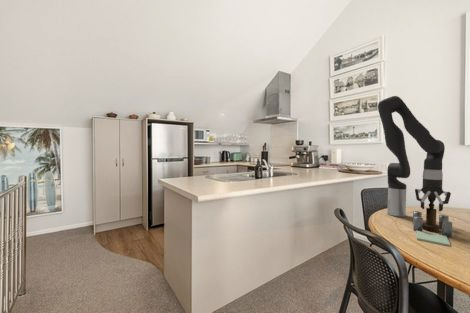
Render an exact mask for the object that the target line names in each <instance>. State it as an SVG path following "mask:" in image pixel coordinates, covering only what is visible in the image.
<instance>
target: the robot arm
mask: <svg viewBox="0 0 470 313" xmlns="http://www.w3.org/2000/svg"><path fill="white" fill-rule="evenodd" d="M377 111H378V113H379V118H380V121H381V125H382V129H383V135H384V140H385V145H386V146H385V147H387V149H388V150H389V151H390V152H391V153H392V154H393V155H394V156H395V157H396V158H397V161H398V162H390V163H388V165H387V169H386V170H387V172H386V173H387V185H388V189H387V214H386V215H390V216H393V217H397V218H398V217H399V218H402V217H406V215H407V213H406V212H407V184H406V183H404V182H402V181H400V180H398V178H399V179H408V178H409V177H410V176H411V165H410V162H409V157H408V155H407V150H406V141H405V135H404V133H403V131H402V129H401V128H400V127H399V126H398V125H397V124H396V123H395V122H394V118H393V113H397V114H399V116H400V117H401V118H402V121H403V127H404V129H405V131H406V132H407V133H408V134H409V135H410V136H411V137H412V138H413V139H414V140H415V141H416V142H417V144H418V145H419V147H420V148H421V149H422V150H423V151H424V152H426V158H425V159H424V160H423V173H422V187H421V188H415V189H414V193H415V198H416V201H417V202H418V201H419V202H420V208H421V209H422V210H425V201H426V200H427V199H428V197H434V198H436V199H437V201H438V212H439V213H440V212H442V211H444V205H447V204H449V202H450V198H451V194H452V193H451V192H450V191H445V190H443V180H444V179H443V158H444V155H445V144H444V142H443V141H442V140H439V139H436V138H435V137H433V136H432V134H431V133H430V131H429V129H428V128H426V126H425V125H423V124H422V122H420V121H419V120H418V119H417V118H416V116H415V115H414V114H413V112H412V111H411V109H409V107H408V106H407V105H406V103H405V102H404V100H403V98H401V97H400V96H397V95H393V96H390V97H389V96H388V97H387V98H384V99H381V100H380V101H379V102H378V104H377ZM421 192H422V193H423V196H422V197H421V198H420V193H421ZM442 194H444V196H445V198H444V200H442V198H441V197H440V196H441V195H442Z"/></svg>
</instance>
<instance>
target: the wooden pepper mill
mask: <svg viewBox="0 0 470 313" xmlns="http://www.w3.org/2000/svg"><path fill="white" fill-rule="evenodd" d="M436 199H437V198H434V197H427V200H428V202H429V204H428V207H426V208H425V209H426V210H425V211H426V214H425V222H423V230H424V231H428V232H430V233H438V232H440V231H441V229H440V227H439V224H437V208H435V204H434V203H435V202H436Z"/></svg>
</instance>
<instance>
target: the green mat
mask: <svg viewBox="0 0 470 313" xmlns="http://www.w3.org/2000/svg"><path fill="white" fill-rule="evenodd" d="M415 233H416V240H417V241H422V242H426V243H431V244H436V245H442V246H447V247H451V244H450V241H449V238H448V237H447V236H444V235H441V234H438V233H437V234H436V233H434V232H426V231H423V232H422V231H417V230H416V231H415Z"/></svg>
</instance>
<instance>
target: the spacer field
mask: <svg viewBox="0 0 470 313" xmlns="http://www.w3.org/2000/svg"><path fill="white" fill-rule="evenodd" d="M412 212H413V214H412V224H413V227H412V228H413V231H414V232H416V230H417V231H422V232H424V231H423V230H424V229H423V224H424V218H423V217H422V214H423V212H421V211H418V210H413V211H412ZM449 217H450V216H449V215H446V214H439V215H438V226H439V227H440V230H441V233H440V235H444V236H447V238H448V239H449V238H452V237H453V222H452V221H449Z"/></svg>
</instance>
